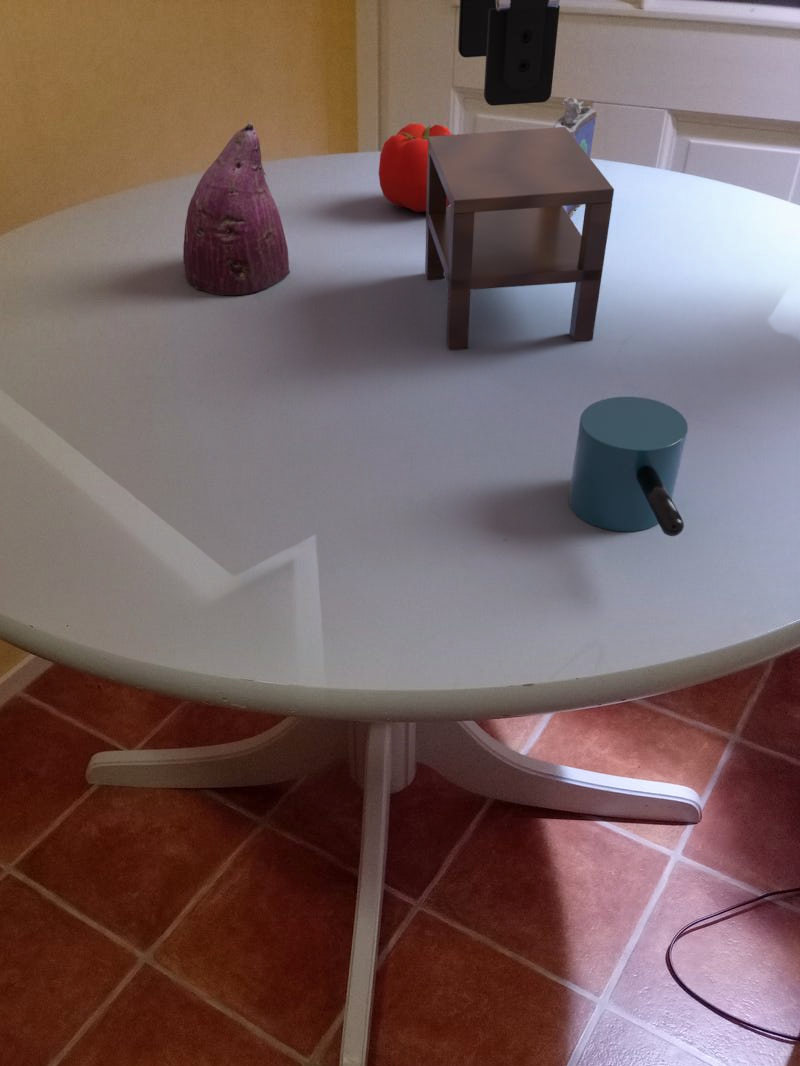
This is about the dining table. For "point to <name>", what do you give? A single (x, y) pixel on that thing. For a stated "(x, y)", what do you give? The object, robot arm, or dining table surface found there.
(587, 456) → the saucepan
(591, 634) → the dining table surface
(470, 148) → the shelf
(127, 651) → the dining table surface
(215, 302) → the dining table surface
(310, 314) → the dining table surface
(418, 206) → the red capsicum
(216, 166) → the vegetable
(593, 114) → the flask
